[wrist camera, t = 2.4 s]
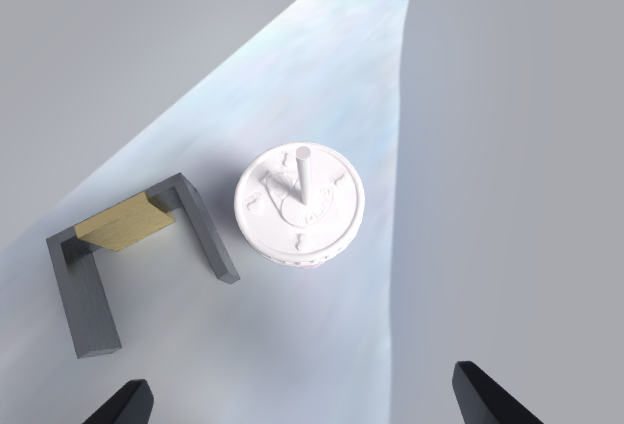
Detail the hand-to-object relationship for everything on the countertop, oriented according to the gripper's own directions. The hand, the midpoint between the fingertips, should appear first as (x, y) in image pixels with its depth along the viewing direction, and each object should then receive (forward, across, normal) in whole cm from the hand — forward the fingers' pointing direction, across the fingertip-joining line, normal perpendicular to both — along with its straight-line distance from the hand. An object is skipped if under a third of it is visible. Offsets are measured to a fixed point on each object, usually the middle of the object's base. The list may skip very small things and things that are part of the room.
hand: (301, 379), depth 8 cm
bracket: (+13, +12, +5) cm, 18 cm away
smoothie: (+14, 0, +4) cm, 15 cm away
